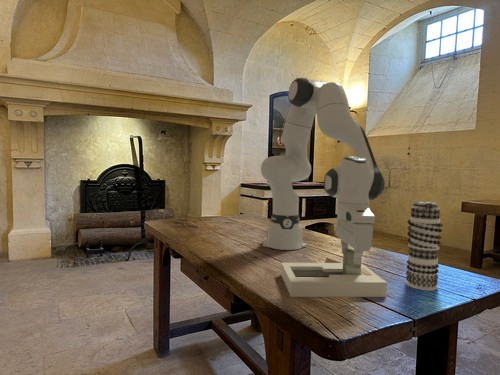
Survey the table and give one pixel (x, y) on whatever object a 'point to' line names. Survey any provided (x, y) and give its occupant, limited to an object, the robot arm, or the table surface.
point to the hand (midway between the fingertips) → (350, 258)
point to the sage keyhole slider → (350, 263)
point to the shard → (330, 261)
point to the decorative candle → (423, 246)
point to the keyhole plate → (330, 281)
